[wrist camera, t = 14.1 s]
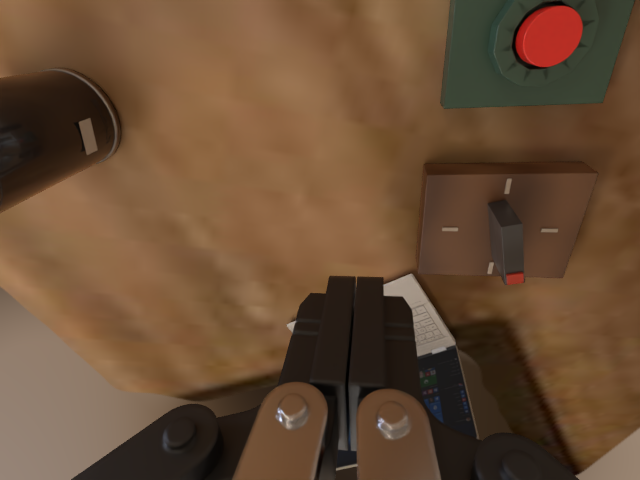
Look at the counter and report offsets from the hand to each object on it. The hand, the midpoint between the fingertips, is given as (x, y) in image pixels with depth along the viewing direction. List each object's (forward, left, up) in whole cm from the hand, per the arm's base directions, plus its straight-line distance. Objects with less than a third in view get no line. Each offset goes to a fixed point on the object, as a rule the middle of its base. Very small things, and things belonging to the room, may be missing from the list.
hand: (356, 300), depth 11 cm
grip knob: (+12, -11, -24) cm, 29 cm away
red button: (+12, +5, -23) cm, 27 cm away
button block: (+12, +5, -27) cm, 30 cm away
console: (+12, -11, -27) cm, 32 cm away
